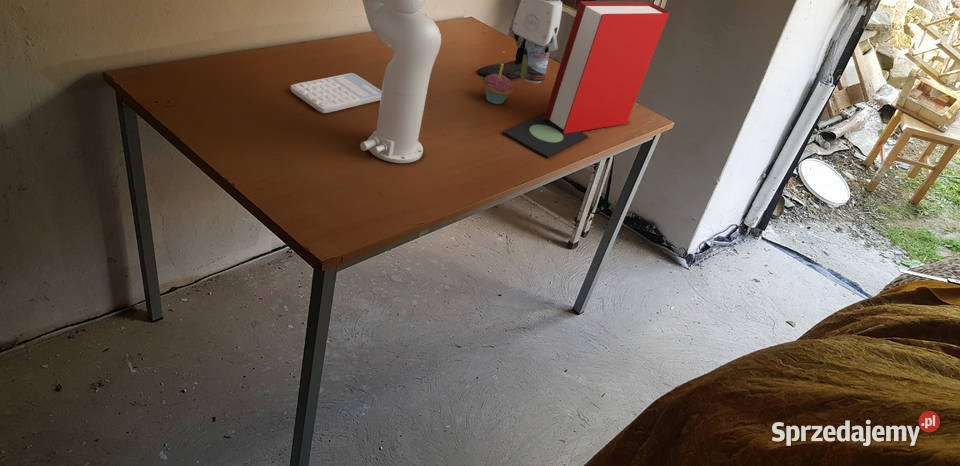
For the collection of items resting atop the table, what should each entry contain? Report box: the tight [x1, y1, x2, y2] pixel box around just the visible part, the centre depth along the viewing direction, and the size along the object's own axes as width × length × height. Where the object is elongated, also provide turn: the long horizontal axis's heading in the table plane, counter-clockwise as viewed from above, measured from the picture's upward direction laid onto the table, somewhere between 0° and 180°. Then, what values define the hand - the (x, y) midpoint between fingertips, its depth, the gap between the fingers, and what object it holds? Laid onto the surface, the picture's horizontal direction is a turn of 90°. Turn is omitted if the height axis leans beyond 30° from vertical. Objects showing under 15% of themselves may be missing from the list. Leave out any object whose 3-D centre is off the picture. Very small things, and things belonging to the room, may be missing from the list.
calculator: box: [289, 72, 382, 114], centre depth 174 cm, size 13×20×2 cm, turn 138°
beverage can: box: [520, 39, 551, 84], centre depth 168 cm, size 6×7×12 cm
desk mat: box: [501, 113, 588, 159], centre depth 181 cm, size 20×14×1 cm
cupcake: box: [481, 61, 514, 105], centre depth 189 cm, size 9×8×12 cm
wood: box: [477, 59, 522, 80], centre depth 209 cm, size 22×7×3 cm, turn 133°
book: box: [543, 0, 670, 134], centre depth 185 cm, size 27×8×32 cm, turn 128°
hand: (526, 65), depth 170 cm, fingers closed on beverage can, 3 cm apart
